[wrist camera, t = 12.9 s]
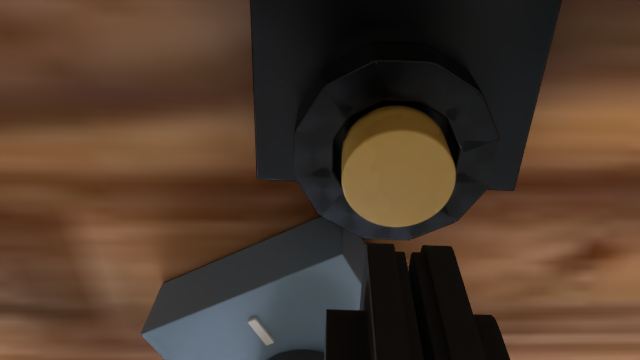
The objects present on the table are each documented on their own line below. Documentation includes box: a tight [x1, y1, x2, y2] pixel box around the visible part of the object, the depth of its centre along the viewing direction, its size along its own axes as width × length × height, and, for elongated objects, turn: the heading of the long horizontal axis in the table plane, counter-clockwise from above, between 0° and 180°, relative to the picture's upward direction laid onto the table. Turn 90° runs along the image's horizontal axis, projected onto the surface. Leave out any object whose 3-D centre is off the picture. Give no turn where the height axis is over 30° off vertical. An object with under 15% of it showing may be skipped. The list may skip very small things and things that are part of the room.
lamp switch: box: [342, 105, 456, 227], centre depth 16 cm, size 3×3×2 cm
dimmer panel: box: [141, 217, 365, 360], centre depth 24 cm, size 11×9×3 cm
